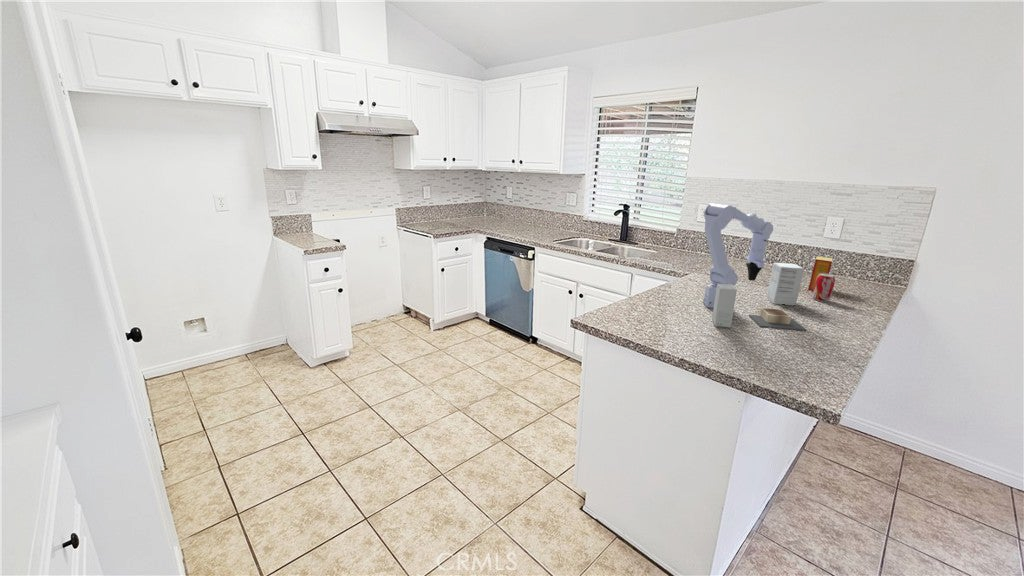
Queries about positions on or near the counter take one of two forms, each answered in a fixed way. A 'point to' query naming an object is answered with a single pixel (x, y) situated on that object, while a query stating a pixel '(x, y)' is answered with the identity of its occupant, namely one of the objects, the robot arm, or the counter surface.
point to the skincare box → (724, 305)
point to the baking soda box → (820, 269)
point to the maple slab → (775, 315)
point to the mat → (763, 323)
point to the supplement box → (785, 283)
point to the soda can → (823, 287)
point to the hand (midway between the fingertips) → (751, 280)
